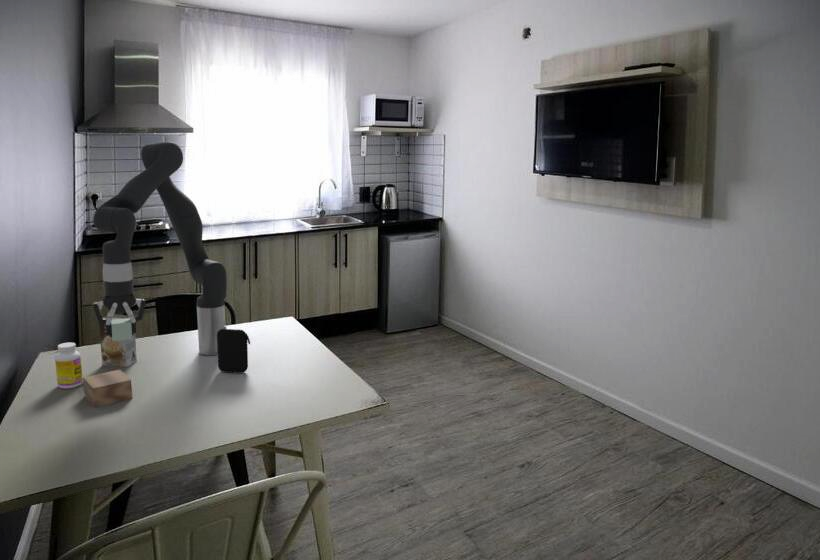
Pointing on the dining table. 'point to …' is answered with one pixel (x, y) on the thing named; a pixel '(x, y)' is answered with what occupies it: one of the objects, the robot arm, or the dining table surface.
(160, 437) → the dining table surface
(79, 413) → the dining table surface
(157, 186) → the robot arm
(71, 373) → the supplement bottle
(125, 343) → the coffee box
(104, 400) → the walnut block
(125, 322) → the sage cube
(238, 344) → the carrying case or bag
